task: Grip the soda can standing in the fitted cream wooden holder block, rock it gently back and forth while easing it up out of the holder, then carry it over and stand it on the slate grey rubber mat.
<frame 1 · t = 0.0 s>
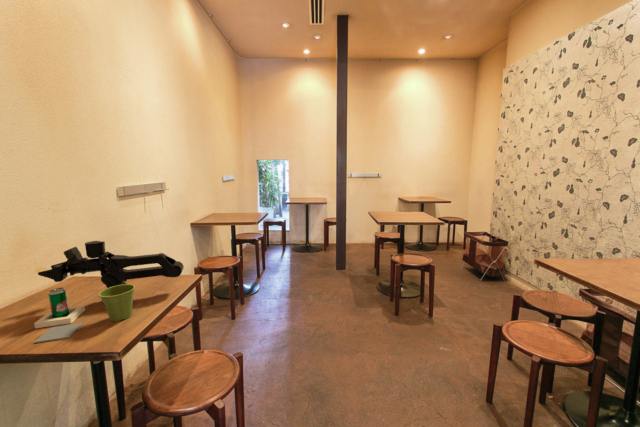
hand: (45, 270, 125), 17 cm above the table, tool horizontal, fingers open, 9 cm apart
holder block: (61, 318, 117), on the table
plant pot: (120, 317, 116), on the table
grey mat: (60, 333, 106), on the table
soda can: (61, 319, 117), resting in holder block
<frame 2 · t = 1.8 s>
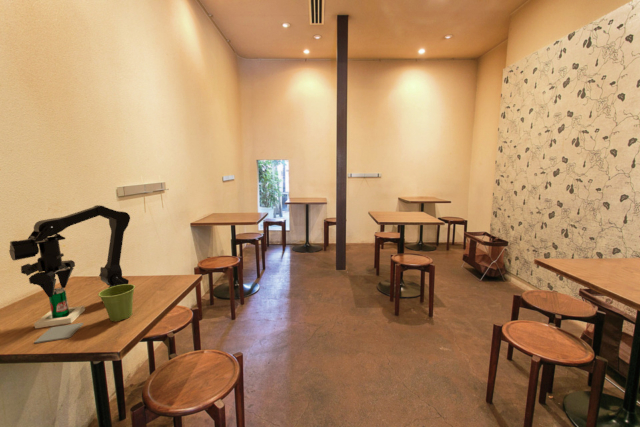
hand: (57, 292, 115), 11 cm above the table, tool pointing down, fingers open, 9 cm apart
nothing on the table moved.
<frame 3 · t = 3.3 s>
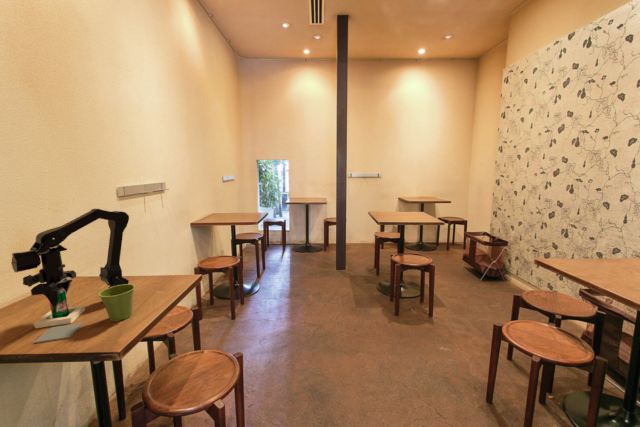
hand: (58, 303, 116), 7 cm above the table, tool pointing down, fingers closed on soda can, 5 cm apart
soda can: (61, 319, 117), resting in holder block, touching gripper
everything else where it was.
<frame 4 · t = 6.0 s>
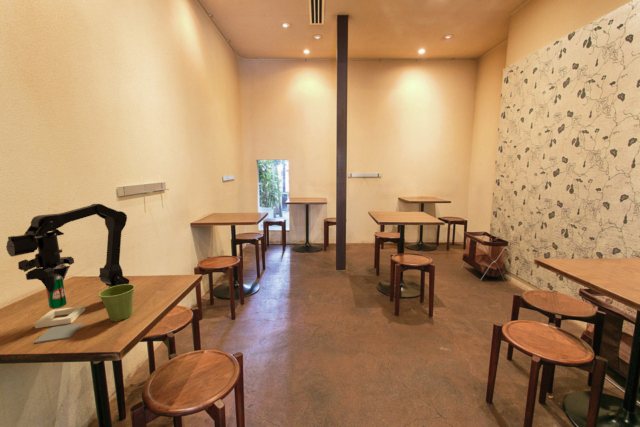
hand: (55, 289, 113), 13 cm above the table, tool pointing down, fingers closed on soda can, 5 cm apart
soda can: (58, 306, 114), point 6 cm above the table, touching gripper
everything else where it was.
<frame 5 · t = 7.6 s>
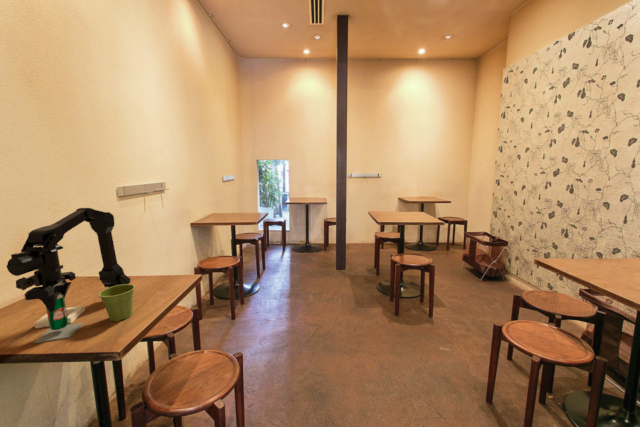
hand: (56, 307, 105), 9 cm above the table, tool pointing down, fingers closed on soda can, 5 cm apart
soda can: (59, 327, 106), point 2 cm above the table, touching gripper
everything else where it was.
when the fingers open (8 cm above the table, at t = 8.8 s): soda can stays where it is, resting on grey mat.
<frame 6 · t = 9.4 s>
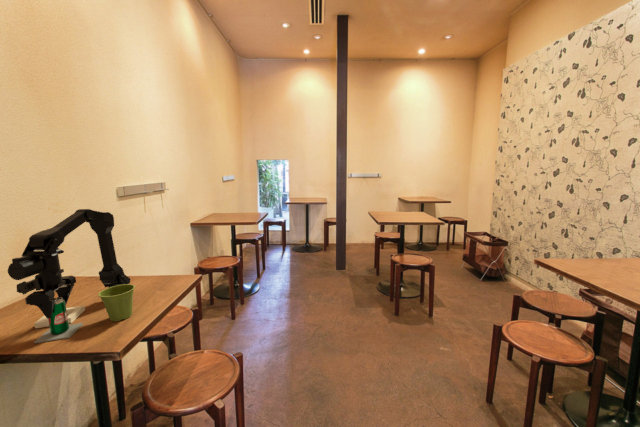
hand: (56, 311, 105), 8 cm above the table, tool pointing down, fingers open, 9 cm apart
soda can: (60, 332, 106), resting on grey mat
everything else where it was.
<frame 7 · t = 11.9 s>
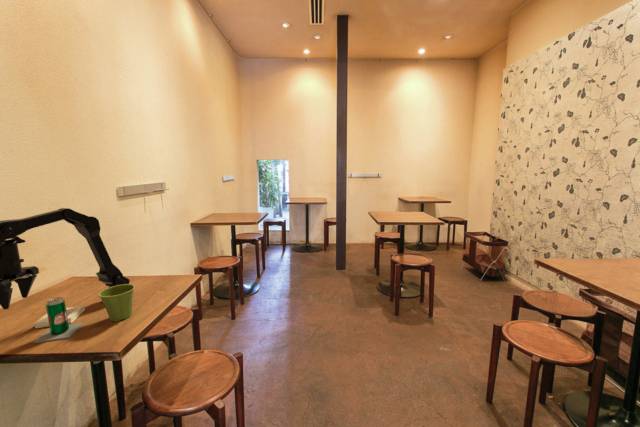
hand: (16, 303, 101), 13 cm above the table, tool pointing down, fingers open, 9 cm apart
nothing on the table moved.
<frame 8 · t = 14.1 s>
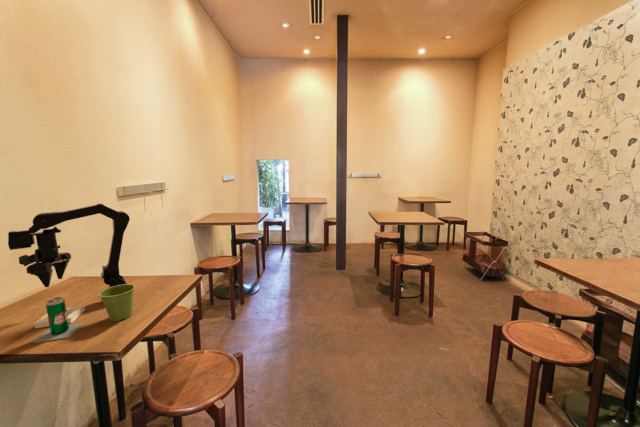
hand: (53, 282, 120), 13 cm above the table, tool pointing down, fingers open, 9 cm apart
nothing on the table moved.
at the end: soda can 0.1 cm off-centre on the grey mat, point 0.3 cm above the grey mat's base; soda can tilted 0°; the gripper is holding nothing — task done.
